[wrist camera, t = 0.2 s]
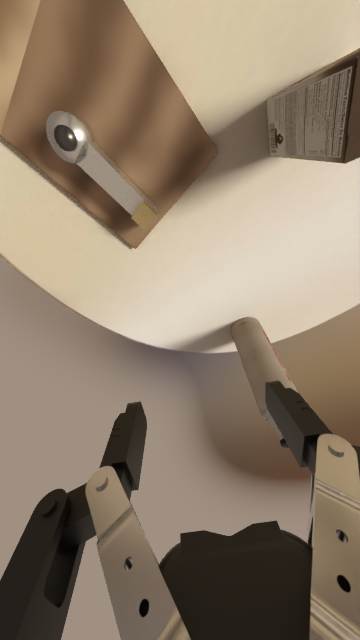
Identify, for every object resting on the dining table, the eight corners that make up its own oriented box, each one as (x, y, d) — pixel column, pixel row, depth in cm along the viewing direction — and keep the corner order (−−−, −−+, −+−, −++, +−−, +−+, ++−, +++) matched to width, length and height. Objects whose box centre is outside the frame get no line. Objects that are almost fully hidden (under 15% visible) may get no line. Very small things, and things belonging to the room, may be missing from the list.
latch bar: (53, 139, 24) (34, 137, 21) (68, 103, 23) (50, 95, 19) (143, 225, 32) (141, 234, 28) (161, 203, 30) (160, 211, 27)
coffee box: (343, 54, 22) (548, -52, 10) (335, 126, 26) (475, 109, 14) (264, 99, 24) (360, 52, 12) (268, 159, 28) (343, 168, 16)
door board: (-67, 73, 21) (-77, 70, 20) (-29, -237, 13) (-43, -265, 12) (136, 246, 36) (135, 248, 35) (216, 151, 27) (218, 152, 26)
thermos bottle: (259, 314, 49) (329, 433, 29) (259, 334, 55) (317, 447, 34) (229, 321, 50) (275, 441, 30) (231, 340, 56) (271, 453, 35)
